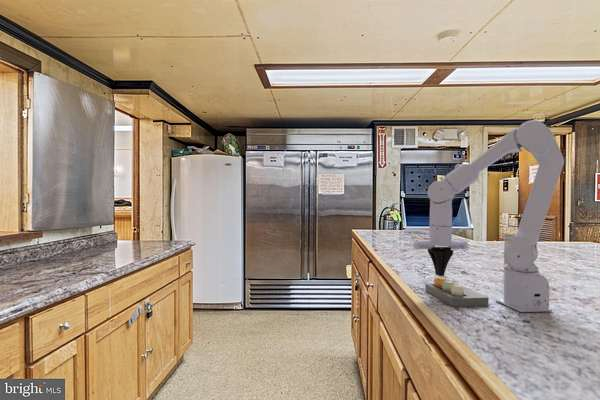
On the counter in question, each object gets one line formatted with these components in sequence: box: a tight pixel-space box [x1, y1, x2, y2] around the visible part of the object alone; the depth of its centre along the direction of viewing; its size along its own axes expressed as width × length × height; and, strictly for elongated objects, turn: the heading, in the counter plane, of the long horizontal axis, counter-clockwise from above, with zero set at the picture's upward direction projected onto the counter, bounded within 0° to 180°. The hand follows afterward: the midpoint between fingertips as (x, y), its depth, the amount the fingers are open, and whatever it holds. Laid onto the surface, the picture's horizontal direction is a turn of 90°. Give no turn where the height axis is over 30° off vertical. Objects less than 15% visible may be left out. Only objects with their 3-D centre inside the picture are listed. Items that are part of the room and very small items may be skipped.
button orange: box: [433, 276, 447, 288], centre depth 102 cm, size 3×3×2 cm
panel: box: [424, 282, 489, 308], centre depth 97 cm, size 15×9×2 cm, turn 6°
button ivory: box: [451, 284, 465, 296], centre depth 93 cm, size 3×3×2 cm
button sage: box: [442, 280, 456, 292], centre depth 98 cm, size 3×3×2 cm
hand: (439, 275), depth 102 cm, fingers closed
